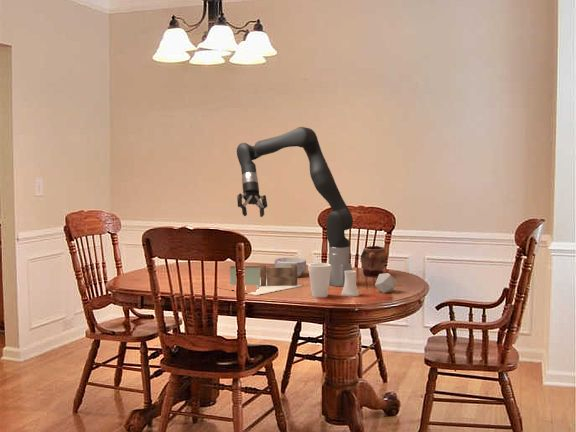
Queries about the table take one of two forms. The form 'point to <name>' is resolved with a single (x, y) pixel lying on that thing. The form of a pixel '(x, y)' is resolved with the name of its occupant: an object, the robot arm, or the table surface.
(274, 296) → the table surface
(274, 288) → the card
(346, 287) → the salt shaker
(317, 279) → the foam cup
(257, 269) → the green rectangular panel
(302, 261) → the paper bowls
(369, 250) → the decorative planter
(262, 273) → the fence post and fixed section
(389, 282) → the die
